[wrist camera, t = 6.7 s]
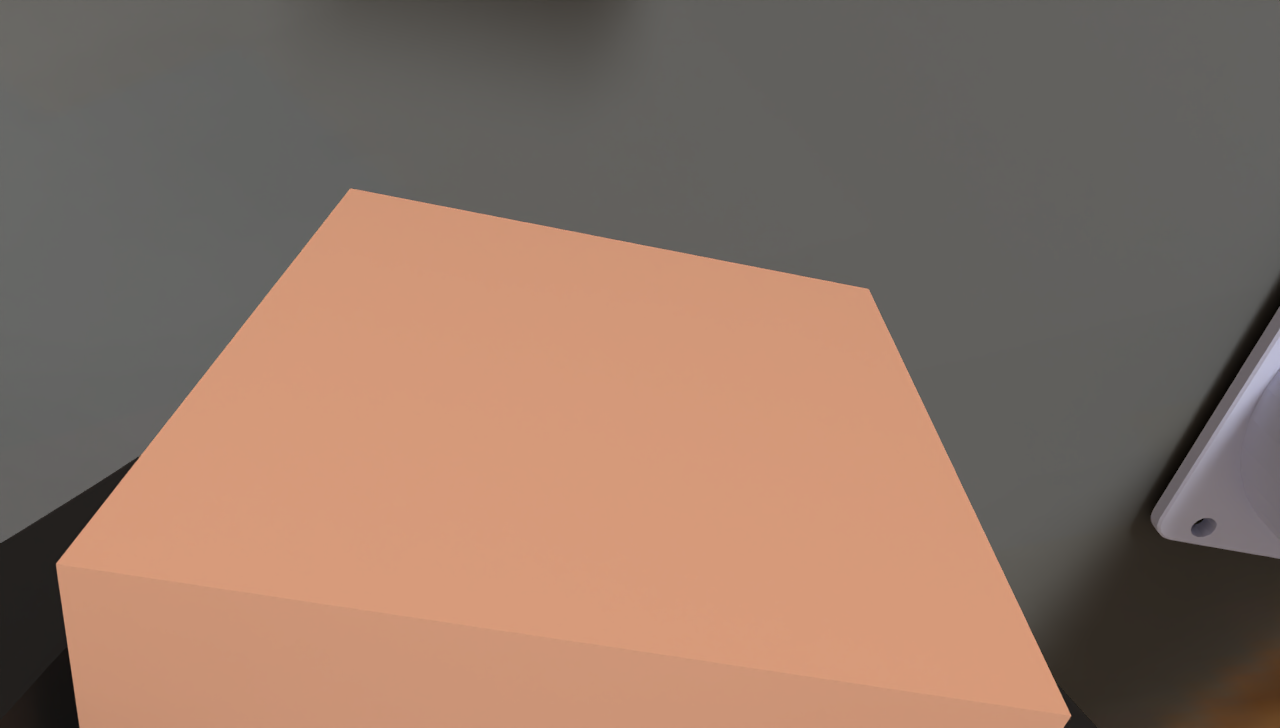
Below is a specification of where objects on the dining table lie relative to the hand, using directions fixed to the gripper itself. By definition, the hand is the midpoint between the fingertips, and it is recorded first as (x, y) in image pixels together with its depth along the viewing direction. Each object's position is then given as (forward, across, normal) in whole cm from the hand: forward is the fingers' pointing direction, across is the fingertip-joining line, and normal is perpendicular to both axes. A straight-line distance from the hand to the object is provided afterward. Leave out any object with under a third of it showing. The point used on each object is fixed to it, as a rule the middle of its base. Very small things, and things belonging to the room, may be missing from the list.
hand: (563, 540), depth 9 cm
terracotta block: (+2, 0, 0) cm, 2 cm away
